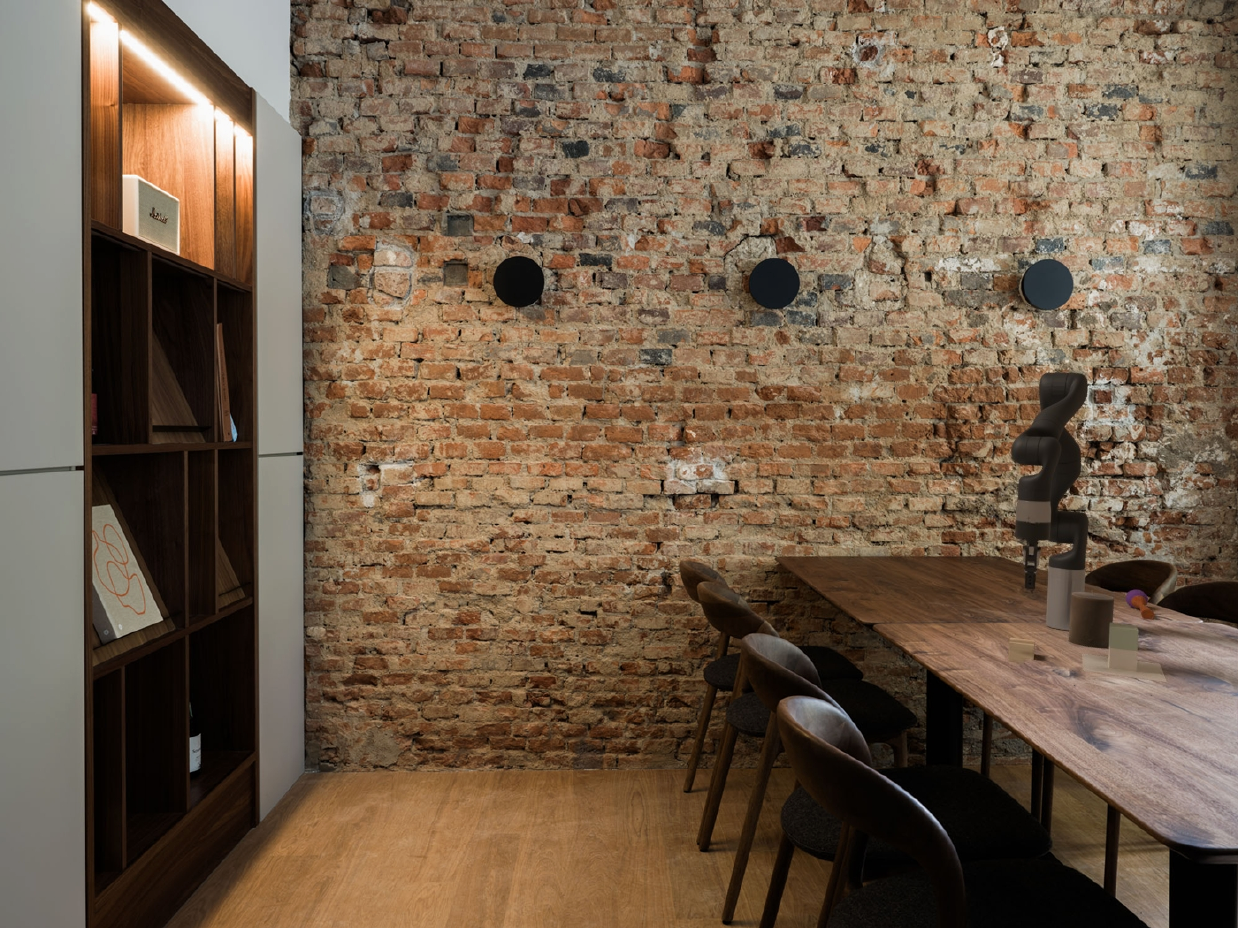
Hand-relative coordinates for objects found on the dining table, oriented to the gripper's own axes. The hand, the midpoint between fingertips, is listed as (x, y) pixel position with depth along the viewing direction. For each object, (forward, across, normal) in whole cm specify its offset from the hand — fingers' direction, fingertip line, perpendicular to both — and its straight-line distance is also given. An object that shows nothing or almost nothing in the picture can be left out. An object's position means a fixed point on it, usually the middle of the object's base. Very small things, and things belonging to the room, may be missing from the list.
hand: (1030, 585), depth 196 cm
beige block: (+17, -2, +20) cm, 26 cm away
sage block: (+12, -2, +20) cm, 23 cm away
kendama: (+18, -79, +30) cm, 86 cm away
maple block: (+19, 0, -1) cm, 19 cm away
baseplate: (+18, -2, +20) cm, 27 cm away
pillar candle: (+19, -23, +14) cm, 33 cm away
